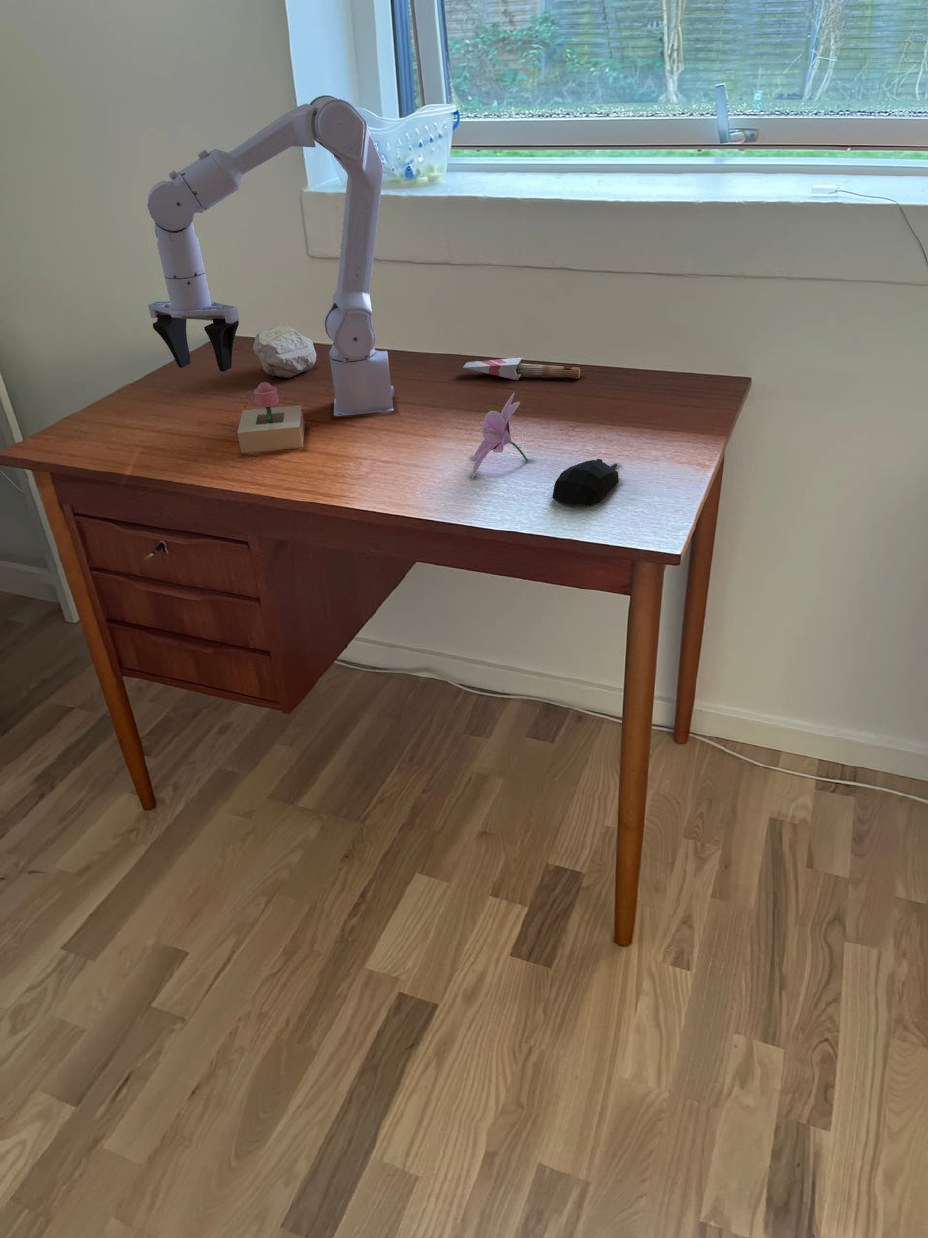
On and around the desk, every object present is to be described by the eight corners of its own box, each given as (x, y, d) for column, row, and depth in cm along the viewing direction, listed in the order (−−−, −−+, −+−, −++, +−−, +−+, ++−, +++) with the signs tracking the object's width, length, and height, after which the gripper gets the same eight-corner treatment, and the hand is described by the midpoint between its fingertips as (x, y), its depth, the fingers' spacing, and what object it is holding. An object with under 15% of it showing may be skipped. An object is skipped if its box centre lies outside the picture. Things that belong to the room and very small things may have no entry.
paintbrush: (467, 352, 161) (581, 361, 156) (467, 368, 162) (580, 377, 158) (461, 359, 158) (577, 369, 153) (461, 375, 159) (576, 385, 155)
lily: (495, 447, 136) (461, 397, 131) (564, 426, 130) (531, 373, 124) (473, 504, 130) (435, 454, 124) (544, 485, 123) (508, 432, 117)
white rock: (329, 363, 171) (279, 367, 173) (320, 317, 167) (269, 322, 169) (306, 381, 160) (253, 385, 163) (296, 332, 156) (242, 337, 159)
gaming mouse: (637, 470, 125) (638, 442, 122) (588, 515, 115) (588, 486, 112) (595, 461, 128) (595, 434, 125) (543, 505, 118) (543, 476, 115)
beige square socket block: (305, 428, 144) (301, 404, 142) (303, 450, 137) (299, 426, 135) (247, 433, 144) (242, 410, 142) (242, 456, 136) (237, 432, 134)
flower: (285, 433, 141) (276, 377, 137) (284, 443, 138) (274, 387, 133) (263, 435, 141) (253, 379, 136) (261, 445, 138) (250, 389, 133)
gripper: (126, 278, 132) (149, 372, 139) (209, 283, 126) (229, 380, 134) (158, 266, 137) (179, 357, 144) (239, 270, 132) (256, 364, 139)
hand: (205, 367), depth 140 cm, fingers open, 7 cm apart
